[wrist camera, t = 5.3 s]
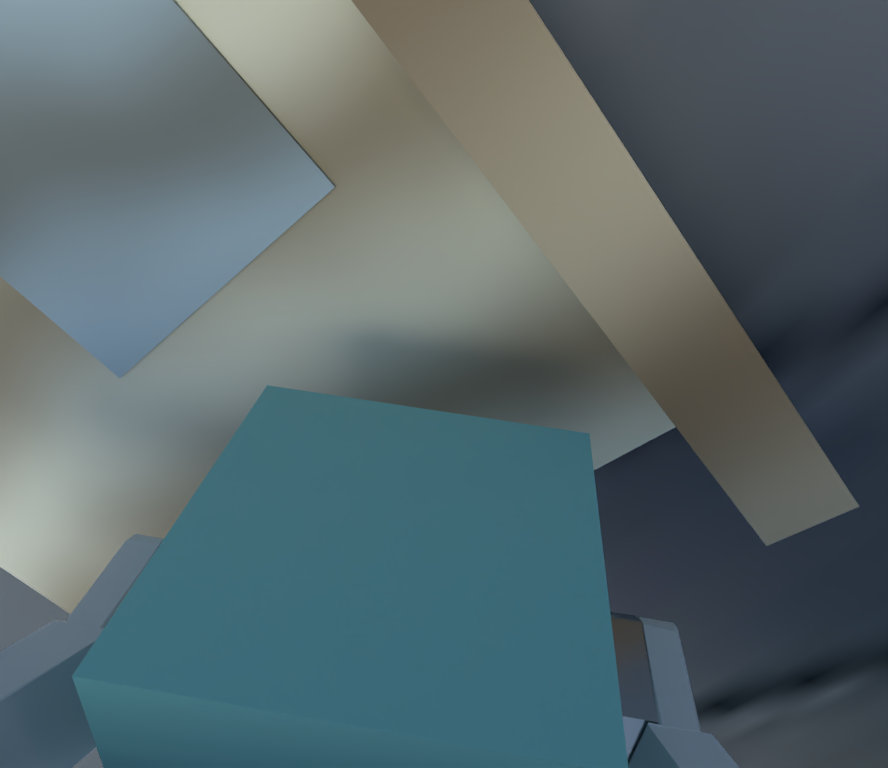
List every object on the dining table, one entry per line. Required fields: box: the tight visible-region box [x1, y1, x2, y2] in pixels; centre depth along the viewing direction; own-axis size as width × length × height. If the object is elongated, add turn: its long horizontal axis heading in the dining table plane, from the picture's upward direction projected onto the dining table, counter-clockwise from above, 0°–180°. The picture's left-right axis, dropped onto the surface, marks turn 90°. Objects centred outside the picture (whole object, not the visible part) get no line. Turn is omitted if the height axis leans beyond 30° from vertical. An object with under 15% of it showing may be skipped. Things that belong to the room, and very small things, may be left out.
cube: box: [72, 385, 628, 768], centre depth 9 cm, size 5×5×5 cm
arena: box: [0, 0, 859, 614], centre depth 13 cm, size 20×20×5 cm
